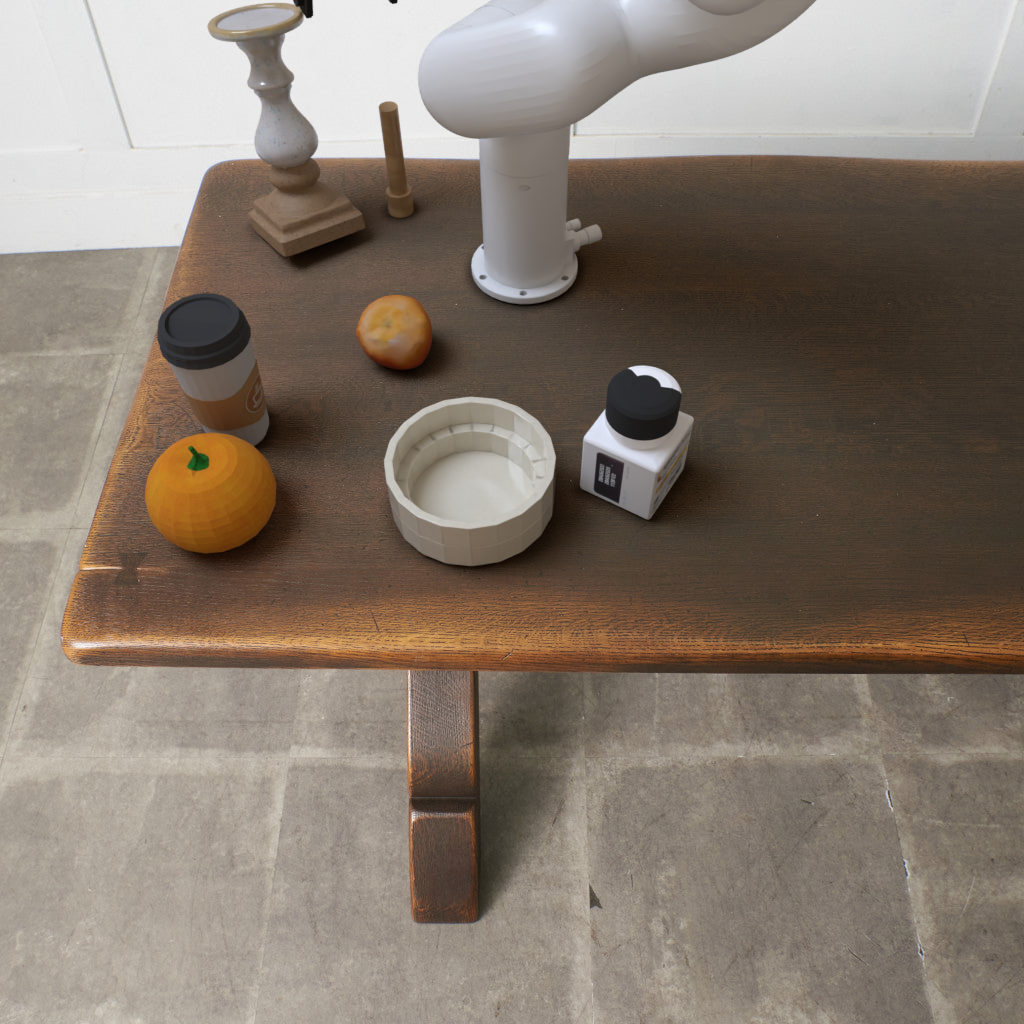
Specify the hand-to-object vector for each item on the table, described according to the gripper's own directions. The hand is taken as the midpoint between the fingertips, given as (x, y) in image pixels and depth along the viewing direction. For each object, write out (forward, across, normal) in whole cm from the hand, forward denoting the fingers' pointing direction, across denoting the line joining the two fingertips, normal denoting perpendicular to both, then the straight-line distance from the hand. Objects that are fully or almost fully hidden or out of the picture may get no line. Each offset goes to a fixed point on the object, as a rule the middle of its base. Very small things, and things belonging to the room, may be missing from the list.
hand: (347, 3), depth 101 cm
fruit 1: (+20, -31, -44) cm, 57 cm away
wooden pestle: (+23, +4, -8) cm, 25 cm away
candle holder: (+23, -8, -7) cm, 26 cm away
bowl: (+16, -10, -54) cm, 57 cm away
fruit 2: (+20, -7, -32) cm, 38 cm away
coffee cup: (+21, -26, -34) cm, 48 cm away
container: (+14, +5, -58) cm, 60 cm away
